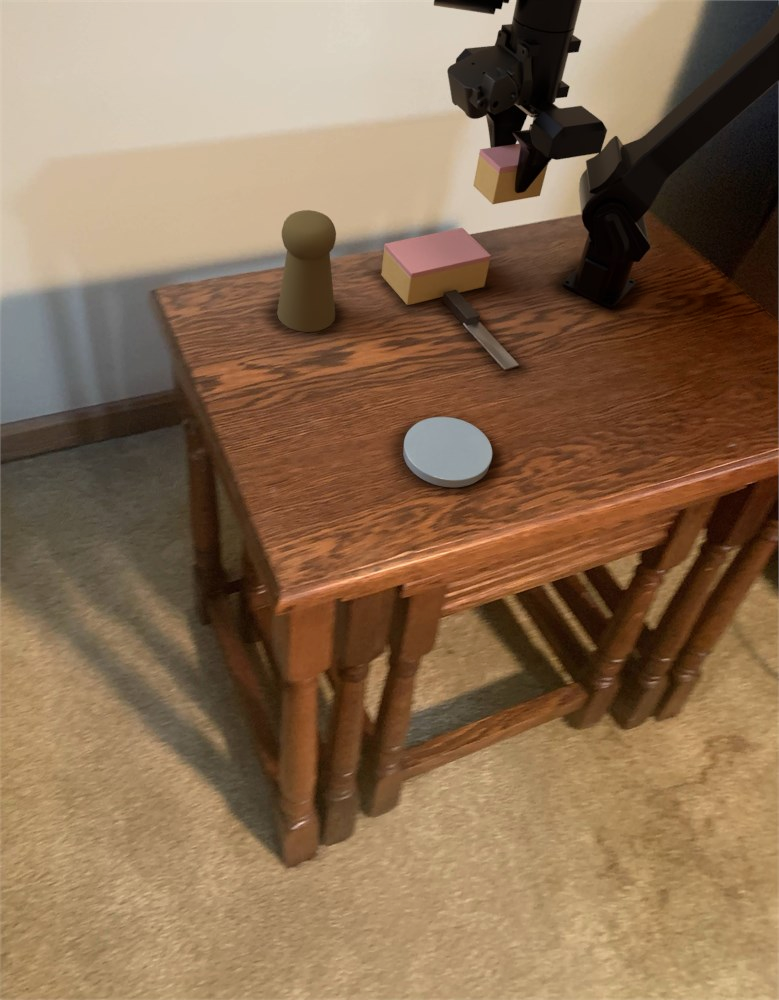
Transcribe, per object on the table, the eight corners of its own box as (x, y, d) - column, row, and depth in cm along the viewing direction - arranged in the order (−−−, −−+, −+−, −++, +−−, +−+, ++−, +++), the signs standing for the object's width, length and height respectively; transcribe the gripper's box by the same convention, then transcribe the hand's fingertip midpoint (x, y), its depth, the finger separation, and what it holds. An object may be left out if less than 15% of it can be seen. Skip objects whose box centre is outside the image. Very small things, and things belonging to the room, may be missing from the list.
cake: (380, 275, 93) (384, 243, 90) (456, 258, 97) (462, 227, 94) (407, 305, 90) (411, 273, 87) (484, 286, 94) (491, 255, 91)
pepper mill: (269, 301, 88) (268, 205, 80) (323, 293, 90) (328, 198, 82) (288, 336, 85) (289, 239, 76) (343, 326, 87) (350, 230, 78)
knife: (455, 298, 92) (456, 288, 91) (518, 367, 85) (521, 357, 84) (441, 301, 91) (442, 292, 90) (504, 371, 84) (506, 361, 84)
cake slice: (472, 185, 89) (479, 149, 86) (519, 177, 91) (528, 141, 88) (492, 204, 87) (500, 167, 84) (540, 196, 89) (549, 160, 86)
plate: (434, 412, 79) (435, 404, 79) (506, 452, 77) (508, 444, 76) (385, 458, 75) (386, 450, 74) (460, 502, 72) (462, 494, 71)
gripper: (418, -12, 79) (400, 150, 90) (526, 71, 68) (489, 241, 80) (517, -18, 83) (487, 137, 94) (633, 59, 72) (583, 223, 84)
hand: (508, 181), depth 88 cm, fingers closed on cake slice, 4 cm apart
